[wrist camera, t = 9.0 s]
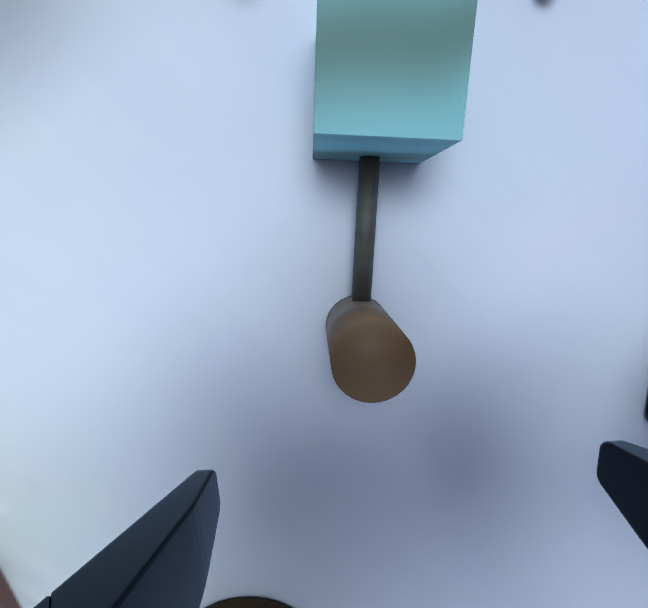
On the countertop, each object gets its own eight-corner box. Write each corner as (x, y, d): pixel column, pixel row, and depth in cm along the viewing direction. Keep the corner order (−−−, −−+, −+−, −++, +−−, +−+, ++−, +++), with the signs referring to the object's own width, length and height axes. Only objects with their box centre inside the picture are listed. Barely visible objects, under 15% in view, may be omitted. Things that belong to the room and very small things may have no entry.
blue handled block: (402, 356, 19) (434, 403, 14) (307, 353, 19) (306, 401, 14) (429, 43, 16) (484, -39, 11) (316, 36, 16) (318, -50, 11)
